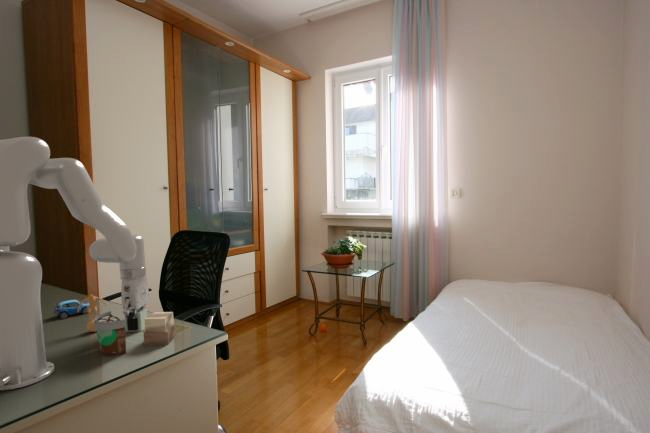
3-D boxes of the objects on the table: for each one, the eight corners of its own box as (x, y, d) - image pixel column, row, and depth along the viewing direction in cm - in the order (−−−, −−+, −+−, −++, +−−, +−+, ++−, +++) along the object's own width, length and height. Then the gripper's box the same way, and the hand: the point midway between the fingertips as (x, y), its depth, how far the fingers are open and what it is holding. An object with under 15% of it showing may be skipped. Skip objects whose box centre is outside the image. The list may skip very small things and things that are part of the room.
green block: (141, 331, 123) (140, 313, 122) (125, 331, 123) (124, 313, 122) (148, 325, 128) (146, 308, 127) (133, 326, 128) (131, 308, 127)
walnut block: (168, 345, 111) (167, 332, 111) (144, 346, 111) (143, 333, 111) (176, 335, 118) (176, 323, 118) (154, 336, 118) (153, 324, 118)
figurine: (79, 336, 120) (76, 299, 119) (79, 330, 125) (75, 295, 124) (109, 330, 125) (106, 294, 124) (107, 325, 129) (105, 290, 129)
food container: (89, 350, 109) (86, 316, 108) (112, 343, 114) (110, 310, 113) (103, 362, 101) (100, 326, 100) (128, 354, 105) (125, 319, 105)
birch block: (165, 331, 111) (164, 318, 111) (145, 332, 111) (144, 319, 111) (173, 324, 117) (173, 311, 117) (154, 324, 117) (153, 312, 117)
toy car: (93, 312, 144) (92, 298, 144) (55, 320, 136) (54, 305, 136) (90, 309, 148) (89, 295, 148) (53, 317, 140) (52, 302, 140)
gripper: (132, 278, 115) (136, 336, 117) (155, 267, 132) (158, 317, 134) (107, 279, 115) (112, 337, 117) (133, 267, 132) (137, 318, 134)
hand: (137, 326), depth 125 cm, fingers closed on green block, 5 cm apart
